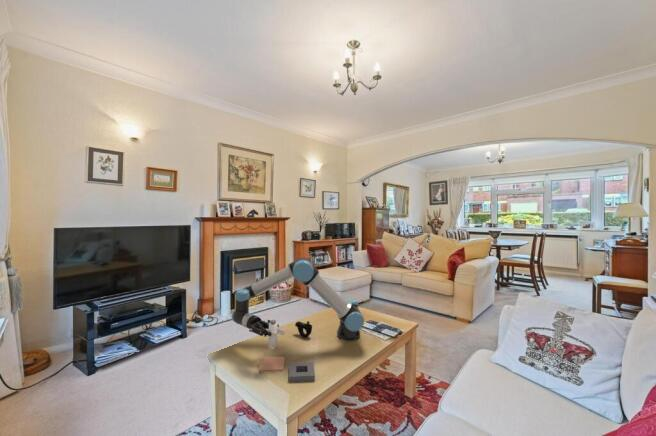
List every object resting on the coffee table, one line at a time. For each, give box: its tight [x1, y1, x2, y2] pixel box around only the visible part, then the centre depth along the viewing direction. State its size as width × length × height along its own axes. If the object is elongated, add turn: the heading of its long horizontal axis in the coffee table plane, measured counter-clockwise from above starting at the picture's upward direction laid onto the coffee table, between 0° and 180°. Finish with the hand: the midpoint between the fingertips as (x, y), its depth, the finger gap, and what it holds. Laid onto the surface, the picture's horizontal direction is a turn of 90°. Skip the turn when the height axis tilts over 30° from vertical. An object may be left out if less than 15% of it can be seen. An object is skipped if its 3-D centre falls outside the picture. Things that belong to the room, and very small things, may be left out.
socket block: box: [288, 361, 316, 383], centre depth 135 cm, size 12×12×3 cm
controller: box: [294, 320, 313, 338], centre depth 178 cm, size 4×12×10 cm, turn 58°
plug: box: [267, 319, 279, 350], centre depth 143 cm, size 4×4×14 cm
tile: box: [258, 356, 286, 373], centre depth 143 cm, size 12×12×1 cm
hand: (279, 334), depth 139 cm, fingers closed on plug, 4 cm apart
